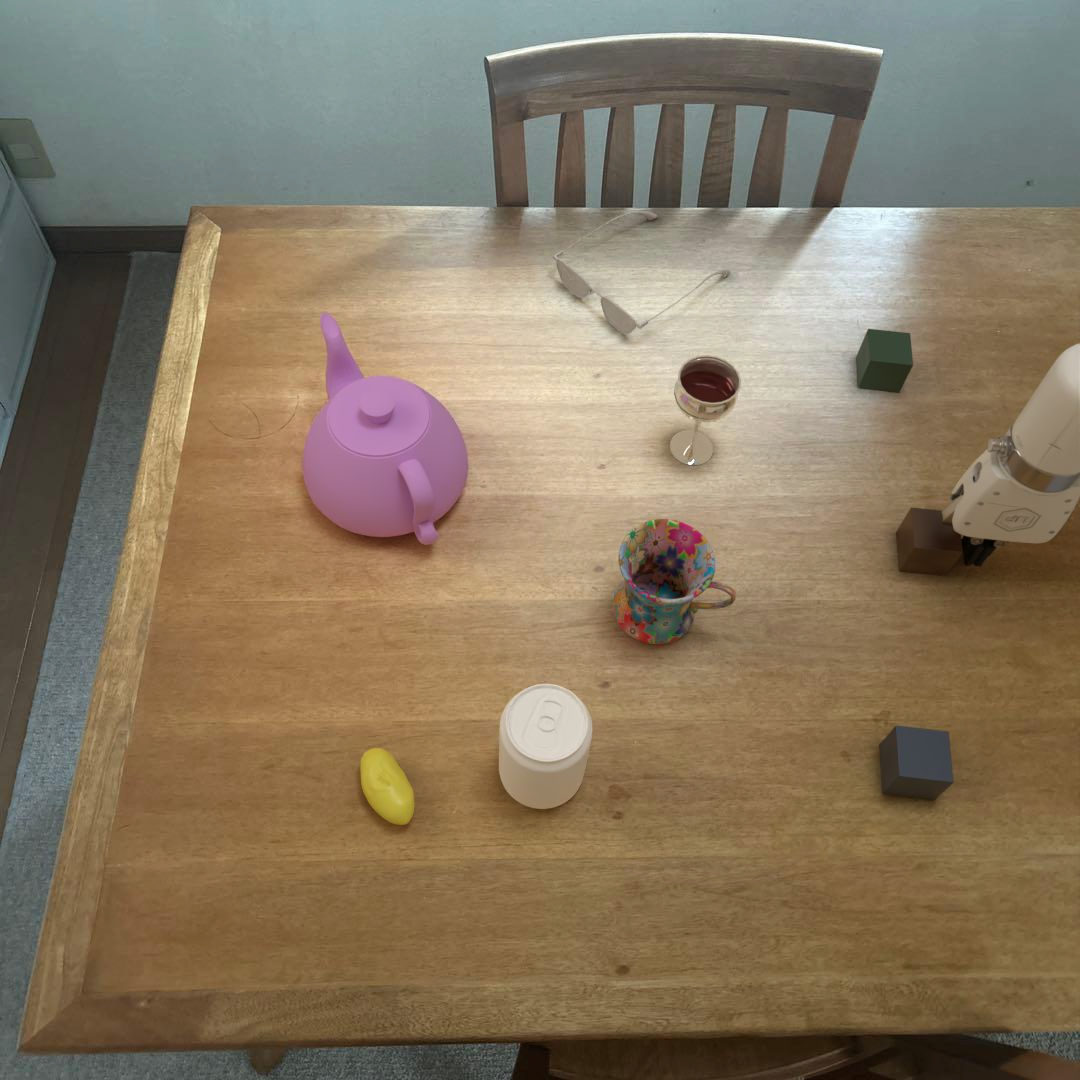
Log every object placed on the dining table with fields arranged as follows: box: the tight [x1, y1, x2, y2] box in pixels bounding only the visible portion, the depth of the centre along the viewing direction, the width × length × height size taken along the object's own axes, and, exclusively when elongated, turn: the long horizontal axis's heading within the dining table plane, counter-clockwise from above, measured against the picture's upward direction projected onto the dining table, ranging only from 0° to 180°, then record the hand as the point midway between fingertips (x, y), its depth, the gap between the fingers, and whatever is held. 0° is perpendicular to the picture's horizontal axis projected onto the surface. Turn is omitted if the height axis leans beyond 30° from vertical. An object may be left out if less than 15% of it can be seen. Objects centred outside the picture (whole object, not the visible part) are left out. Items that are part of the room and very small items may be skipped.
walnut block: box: [895, 506, 963, 577], centre depth 115 cm, size 5×5×5 cm
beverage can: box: [498, 683, 594, 810], centre depth 98 cm, size 8×8×12 cm
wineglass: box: [669, 354, 742, 466], centre depth 118 cm, size 7×7×12 cm
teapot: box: [302, 312, 469, 546], centre depth 114 cm, size 25×18×14 cm
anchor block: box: [879, 725, 954, 801], centre depth 102 cm, size 5×5×5 cm
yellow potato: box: [359, 747, 415, 826], centre depth 99 cm, size 4×8×4 cm, turn 26°
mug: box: [612, 518, 737, 645], centre depth 108 cm, size 12×9×11 cm
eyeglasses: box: [552, 210, 731, 335], centre depth 136 cm, size 15×18×4 cm
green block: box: [855, 328, 914, 393], centre depth 128 cm, size 5×5×5 cm
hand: (970, 554), depth 116 cm, fingers closed
